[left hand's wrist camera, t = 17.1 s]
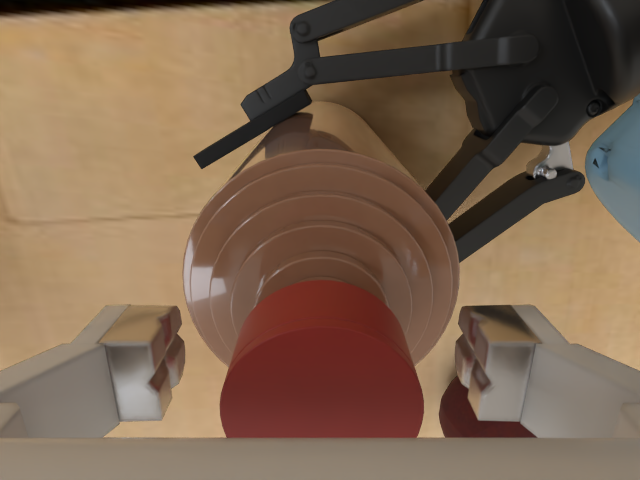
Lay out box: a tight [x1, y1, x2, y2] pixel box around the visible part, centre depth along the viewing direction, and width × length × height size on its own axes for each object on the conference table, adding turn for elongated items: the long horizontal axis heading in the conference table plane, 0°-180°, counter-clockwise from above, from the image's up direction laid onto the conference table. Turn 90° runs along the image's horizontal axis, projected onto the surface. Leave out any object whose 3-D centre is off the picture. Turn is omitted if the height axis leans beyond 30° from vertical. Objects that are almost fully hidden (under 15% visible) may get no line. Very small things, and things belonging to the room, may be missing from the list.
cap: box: [220, 280, 424, 438], centre depth 9 cm, size 4×4×2 cm
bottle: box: [183, 101, 460, 367], centre depth 20 cm, size 8×8×23 cm
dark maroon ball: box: [439, 376, 538, 438], centre depth 33 cm, size 7×8×7 cm
